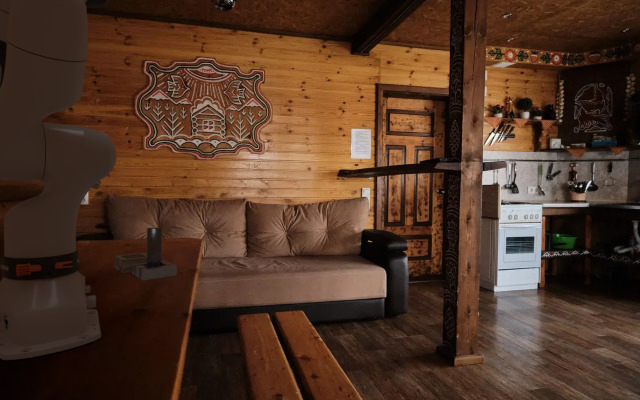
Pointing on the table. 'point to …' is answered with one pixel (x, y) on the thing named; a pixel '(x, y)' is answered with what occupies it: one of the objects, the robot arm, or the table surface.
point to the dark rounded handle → (154, 247)
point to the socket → (154, 271)
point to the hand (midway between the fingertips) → (104, 178)
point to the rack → (128, 261)
